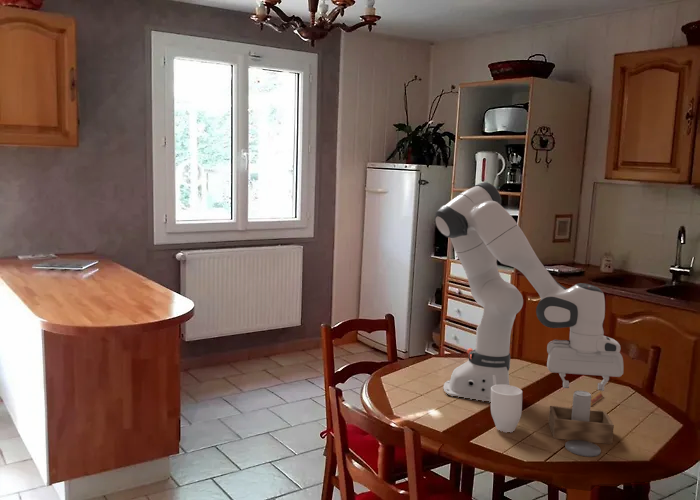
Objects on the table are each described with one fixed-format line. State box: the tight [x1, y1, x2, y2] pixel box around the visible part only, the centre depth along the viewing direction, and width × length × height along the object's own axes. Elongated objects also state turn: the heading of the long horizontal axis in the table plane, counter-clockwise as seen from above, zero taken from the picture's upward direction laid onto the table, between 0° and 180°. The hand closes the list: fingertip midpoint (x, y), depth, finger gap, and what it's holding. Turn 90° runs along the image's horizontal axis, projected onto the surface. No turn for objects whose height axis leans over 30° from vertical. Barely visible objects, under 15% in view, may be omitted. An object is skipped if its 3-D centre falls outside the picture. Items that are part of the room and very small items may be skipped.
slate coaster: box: [564, 440, 602, 458], centre depth 170 cm, size 9×9×1 cm
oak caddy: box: [548, 405, 615, 445], centre depth 180 cm, size 16×11×6 cm
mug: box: [490, 384, 523, 433], centre depth 182 cm, size 12×9×12 cm
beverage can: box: [571, 390, 592, 422], centre depth 179 cm, size 5×5×12 cm
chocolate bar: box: [591, 390, 604, 406], centre depth 207 cm, size 3×12×2 cm, turn 140°
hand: (583, 388), depth 178 cm, fingers open, 8 cm apart
